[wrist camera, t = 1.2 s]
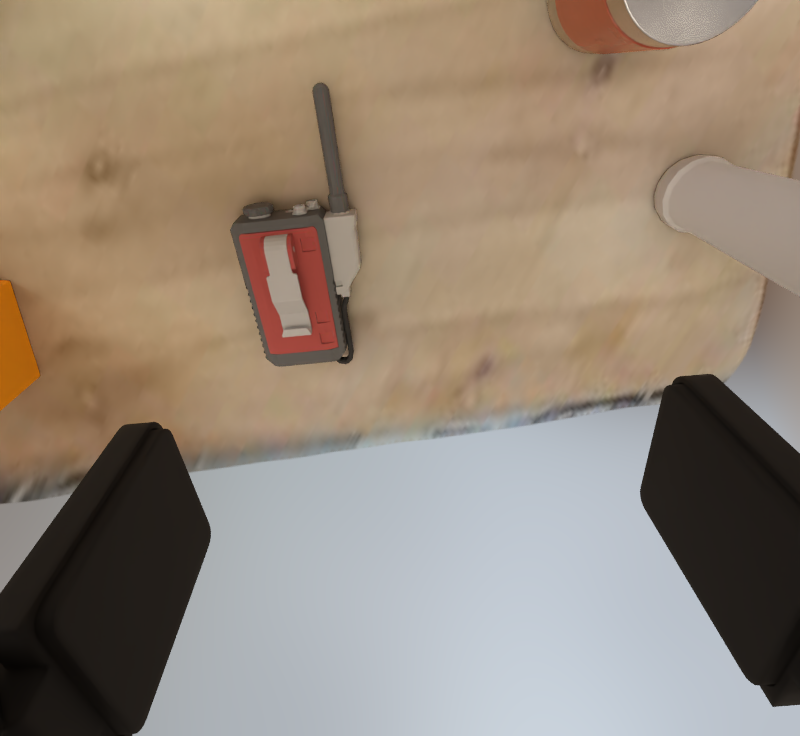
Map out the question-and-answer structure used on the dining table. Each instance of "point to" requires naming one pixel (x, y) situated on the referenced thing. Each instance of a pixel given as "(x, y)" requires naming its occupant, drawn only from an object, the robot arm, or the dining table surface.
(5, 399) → the orange juice
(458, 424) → the dining table surface
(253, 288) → the walkie-talkie
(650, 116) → the dining table surface
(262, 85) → the dining table surface
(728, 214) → the bottle
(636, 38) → the tin can
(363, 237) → the dining table surface
